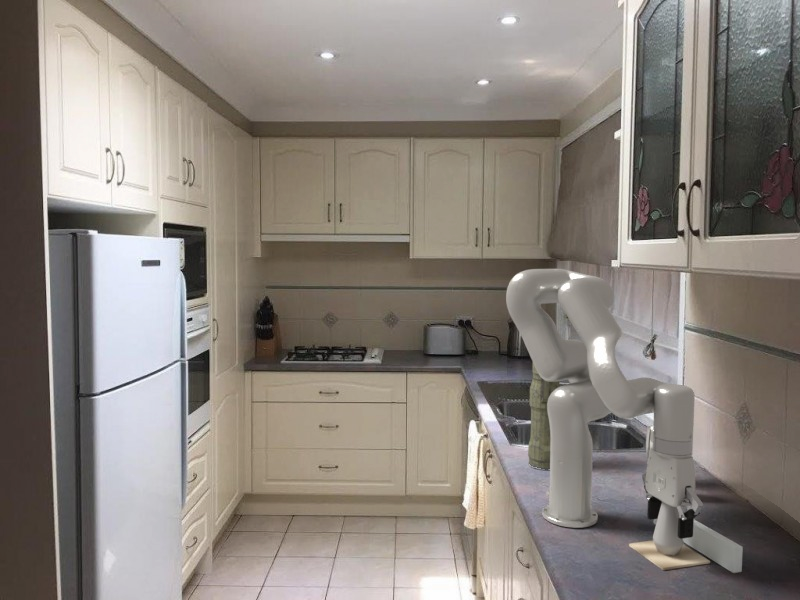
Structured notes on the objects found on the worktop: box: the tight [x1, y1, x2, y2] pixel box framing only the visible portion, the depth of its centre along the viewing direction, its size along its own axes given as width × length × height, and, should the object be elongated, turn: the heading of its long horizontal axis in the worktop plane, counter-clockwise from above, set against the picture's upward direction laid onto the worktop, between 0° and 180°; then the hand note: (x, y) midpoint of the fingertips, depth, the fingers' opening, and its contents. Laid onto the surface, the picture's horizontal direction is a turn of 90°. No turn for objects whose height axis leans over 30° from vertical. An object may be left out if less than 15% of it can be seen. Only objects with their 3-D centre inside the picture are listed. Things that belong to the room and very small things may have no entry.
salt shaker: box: [652, 500, 684, 556], centre depth 134 cm, size 6×6×13 cm
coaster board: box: [628, 539, 711, 571], centre depth 135 cm, size 11×11×1 cm
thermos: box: [527, 362, 561, 469], centre depth 188 cm, size 9×12×35 cm
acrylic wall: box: [653, 514, 744, 574], centre depth 138 cm, size 24×2×5 cm, turn 16°
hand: (669, 527), depth 134 cm, fingers open, 9 cm apart
